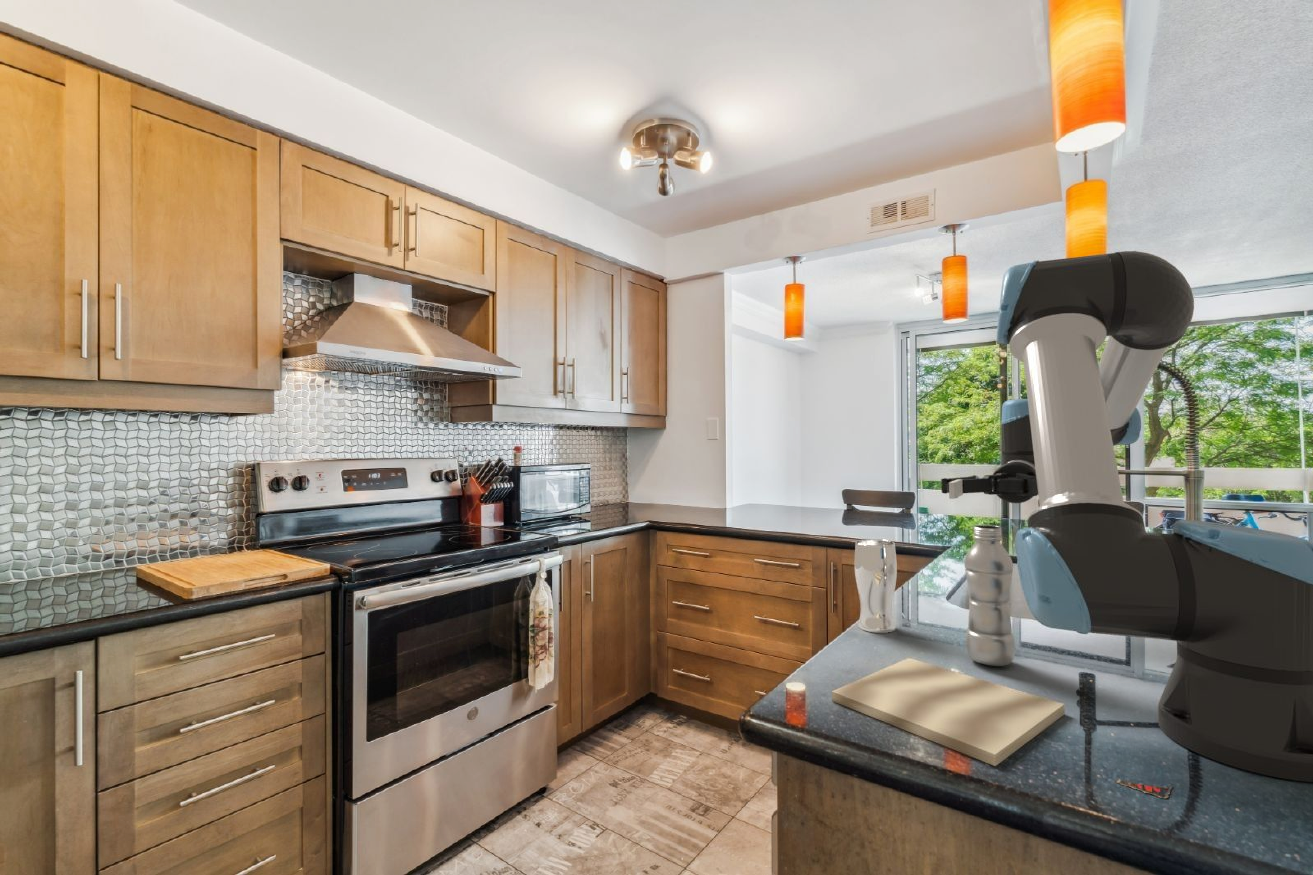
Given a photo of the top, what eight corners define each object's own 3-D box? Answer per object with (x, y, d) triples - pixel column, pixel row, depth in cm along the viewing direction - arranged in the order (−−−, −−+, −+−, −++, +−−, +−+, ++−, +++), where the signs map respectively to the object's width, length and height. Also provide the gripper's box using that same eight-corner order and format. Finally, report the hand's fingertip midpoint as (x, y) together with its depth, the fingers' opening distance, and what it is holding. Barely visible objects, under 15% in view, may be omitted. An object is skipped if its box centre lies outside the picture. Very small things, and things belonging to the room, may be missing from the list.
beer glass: (891, 621, 109) (889, 538, 109) (903, 634, 102) (901, 545, 102) (851, 621, 110) (850, 538, 110) (861, 634, 103) (859, 545, 103)
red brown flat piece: (1170, 780, 59) (1170, 775, 59) (1177, 807, 55) (1177, 802, 55) (1110, 767, 62) (1110, 762, 62) (1113, 792, 58) (1113, 787, 58)
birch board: (1064, 714, 73) (1064, 704, 73) (995, 766, 62) (995, 754, 62) (908, 666, 89) (908, 657, 89) (831, 700, 78) (831, 691, 78)
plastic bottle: (965, 667, 88) (962, 529, 88) (966, 652, 94) (963, 522, 94) (1017, 674, 85) (1014, 531, 85) (1014, 658, 91) (1011, 524, 91)
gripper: (1099, 504, 106) (1094, 521, 89) (945, 498, 121) (916, 511, 105) (1099, 462, 106) (1093, 470, 89) (944, 460, 121) (915, 467, 105)
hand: (997, 492), depth 97 cm, fingers open, 13 cm apart
